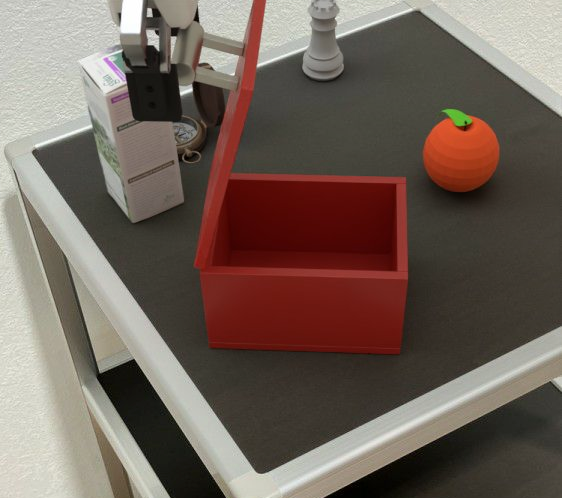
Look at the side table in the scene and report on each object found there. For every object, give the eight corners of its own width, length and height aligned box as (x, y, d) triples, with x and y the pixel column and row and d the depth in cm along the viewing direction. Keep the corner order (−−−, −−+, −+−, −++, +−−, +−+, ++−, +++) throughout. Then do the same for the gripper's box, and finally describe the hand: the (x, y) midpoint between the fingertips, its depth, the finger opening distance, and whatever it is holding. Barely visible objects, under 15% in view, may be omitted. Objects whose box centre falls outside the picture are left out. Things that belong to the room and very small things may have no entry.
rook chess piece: (315, 87, 102) (315, 18, 95) (294, 66, 104) (293, -3, 98) (351, 74, 103) (354, 5, 97) (330, 54, 105) (331, -15, 99)
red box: (398, 254, 86) (406, 176, 79) (399, 355, 79) (408, 279, 72) (223, 249, 87) (216, 172, 80) (209, 348, 79) (199, 272, 73)
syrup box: (186, 202, 91) (169, 68, 79) (130, 226, 89) (104, 92, 78) (158, 170, 94) (137, 35, 83) (103, 192, 92) (74, 58, 81)
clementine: (400, 166, 93) (406, 104, 88) (462, 145, 95) (471, 83, 89) (444, 216, 89) (453, 154, 83) (508, 194, 90) (520, 131, 85)
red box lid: (267, -10, 67) (191, -31, 66) (253, 91, 60) (167, 68, 59) (220, 169, 80) (155, 153, 79) (204, 269, 72) (132, 253, 71)
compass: (135, 135, 97) (124, 72, 92) (206, 111, 99) (200, 48, 94) (166, 180, 93) (156, 117, 87) (240, 154, 95) (235, 91, 89)
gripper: (178, -124, 47) (209, 157, 60) (216, -258, 58) (235, 6, 71) (27, -125, 48) (90, 154, 61) (92, -257, 58) (134, 5, 72)
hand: (168, 74), depth 66 cm, fingers open, 9 cm apart
